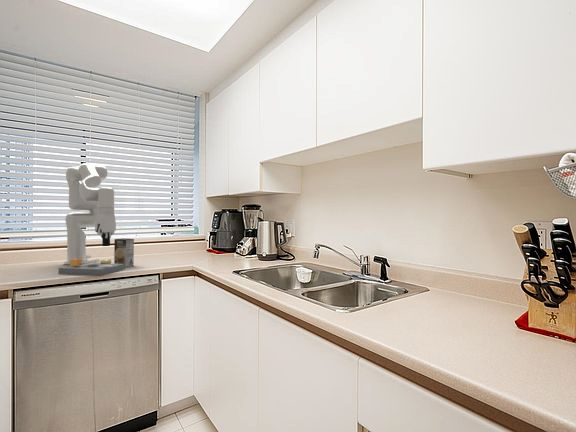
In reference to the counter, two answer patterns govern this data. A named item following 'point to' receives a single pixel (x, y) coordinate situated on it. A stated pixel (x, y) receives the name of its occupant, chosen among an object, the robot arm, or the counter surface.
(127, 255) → the coffee box
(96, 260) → the plate
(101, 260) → the brass button
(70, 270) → the switch panel
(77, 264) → the orange slider
